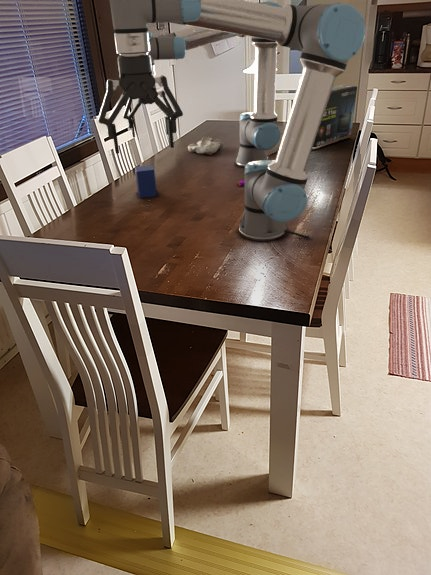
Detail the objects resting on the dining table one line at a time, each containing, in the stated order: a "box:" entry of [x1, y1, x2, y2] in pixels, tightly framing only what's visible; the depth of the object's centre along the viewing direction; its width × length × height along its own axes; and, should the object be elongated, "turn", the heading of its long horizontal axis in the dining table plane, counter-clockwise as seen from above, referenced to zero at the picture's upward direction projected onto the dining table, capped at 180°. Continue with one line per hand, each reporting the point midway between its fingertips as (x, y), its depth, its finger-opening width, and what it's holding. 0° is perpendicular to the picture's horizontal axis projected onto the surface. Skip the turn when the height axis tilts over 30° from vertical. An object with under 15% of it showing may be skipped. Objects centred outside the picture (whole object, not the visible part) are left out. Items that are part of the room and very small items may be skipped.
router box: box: [313, 84, 358, 147], centre depth 238 cm, size 36×11×27 cm, turn 134°
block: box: [134, 164, 158, 199], centre depth 182 cm, size 7×7×11 cm
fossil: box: [187, 135, 224, 156], centre depth 238 cm, size 18×11×15 cm
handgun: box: [238, 180, 245, 187], centre depth 183 cm, size 21×8×2 cm, turn 11°
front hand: (144, 149), depth 115 cm, fingers open, 13 cm apart
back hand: (150, 135), depth 185 cm, fingers open, 13 cm apart
